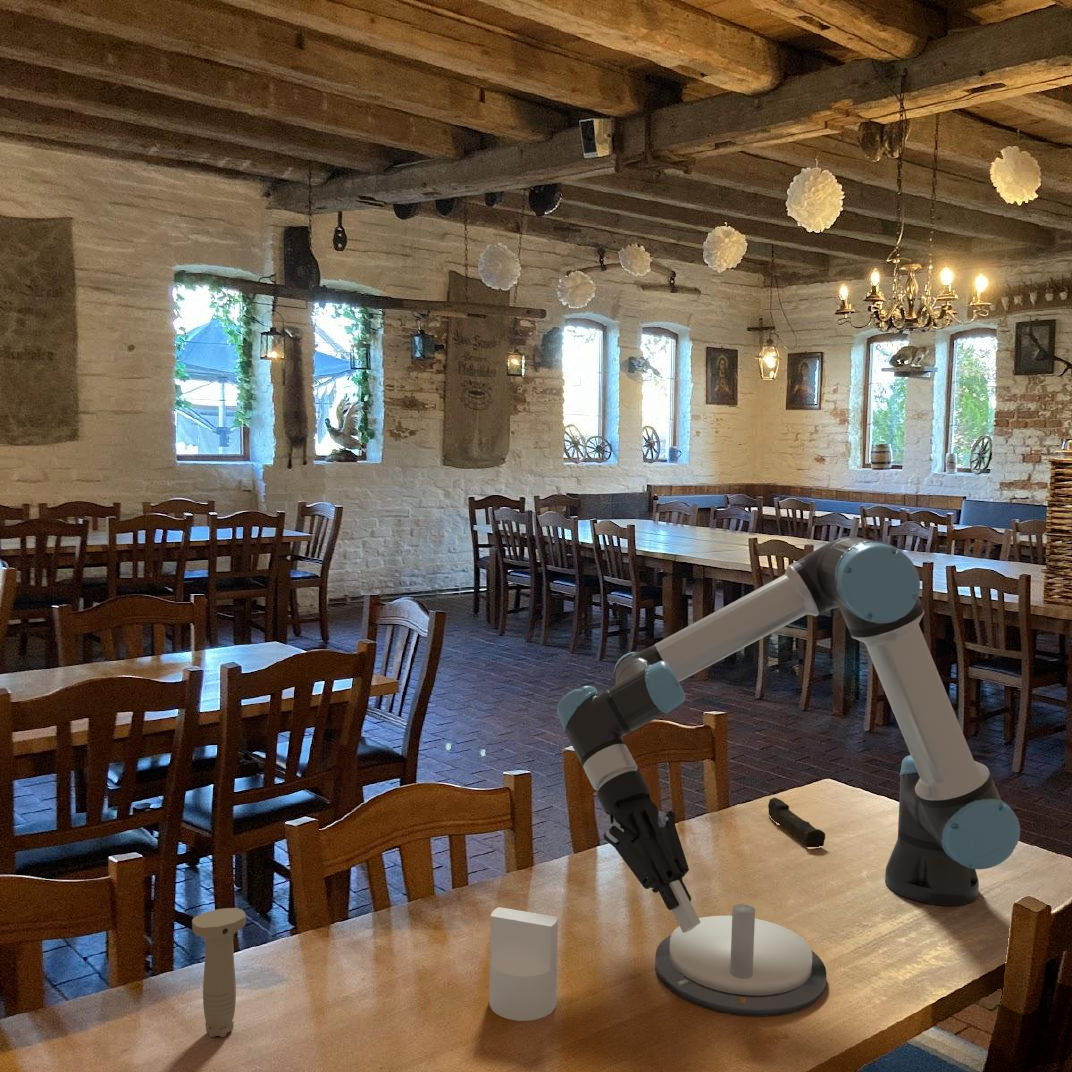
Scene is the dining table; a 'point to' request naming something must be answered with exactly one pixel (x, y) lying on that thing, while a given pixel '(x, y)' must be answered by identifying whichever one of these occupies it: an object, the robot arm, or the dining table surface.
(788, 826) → the hand tool
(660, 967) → the dial base
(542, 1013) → the cylinder with rectangular tab
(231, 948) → the handle
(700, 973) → the dial
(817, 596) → the robot arm
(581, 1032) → the dining table surface
